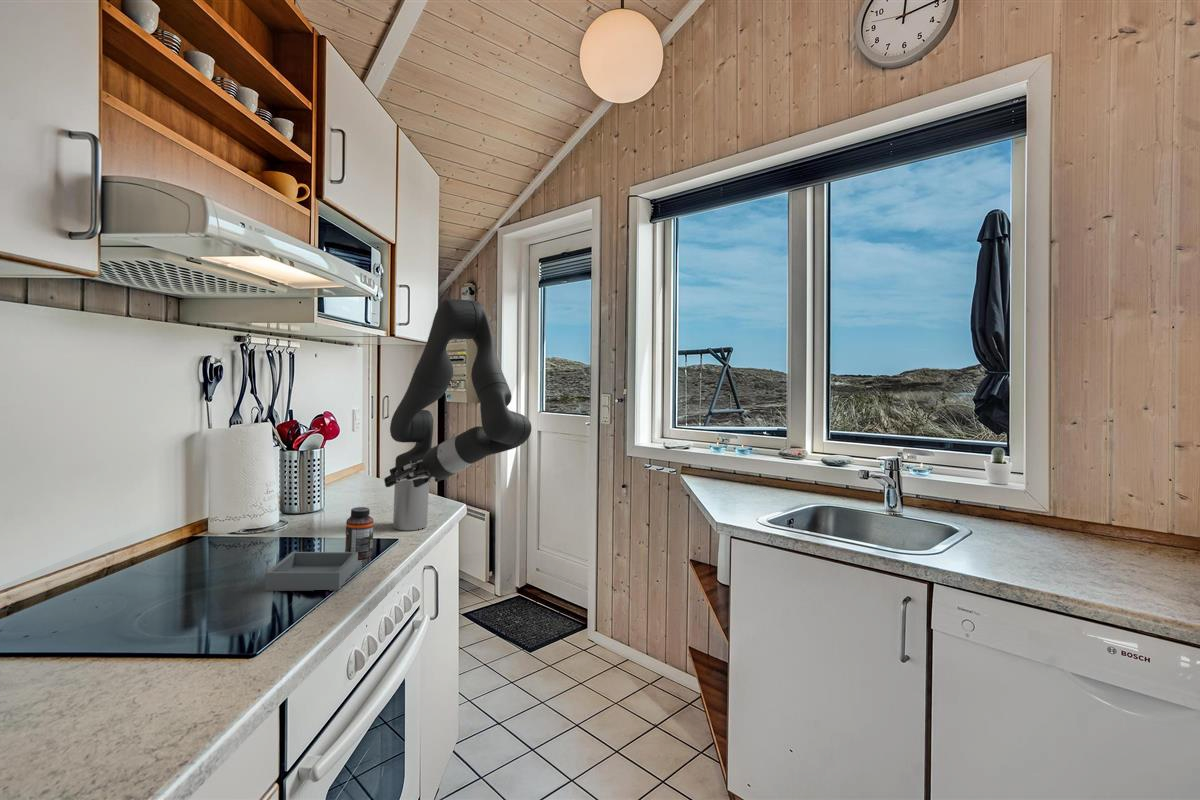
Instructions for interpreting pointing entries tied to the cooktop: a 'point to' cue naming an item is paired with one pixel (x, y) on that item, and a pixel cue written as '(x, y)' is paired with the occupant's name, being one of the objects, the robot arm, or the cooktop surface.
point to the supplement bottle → (359, 532)
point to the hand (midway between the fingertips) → (400, 483)
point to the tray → (311, 571)
